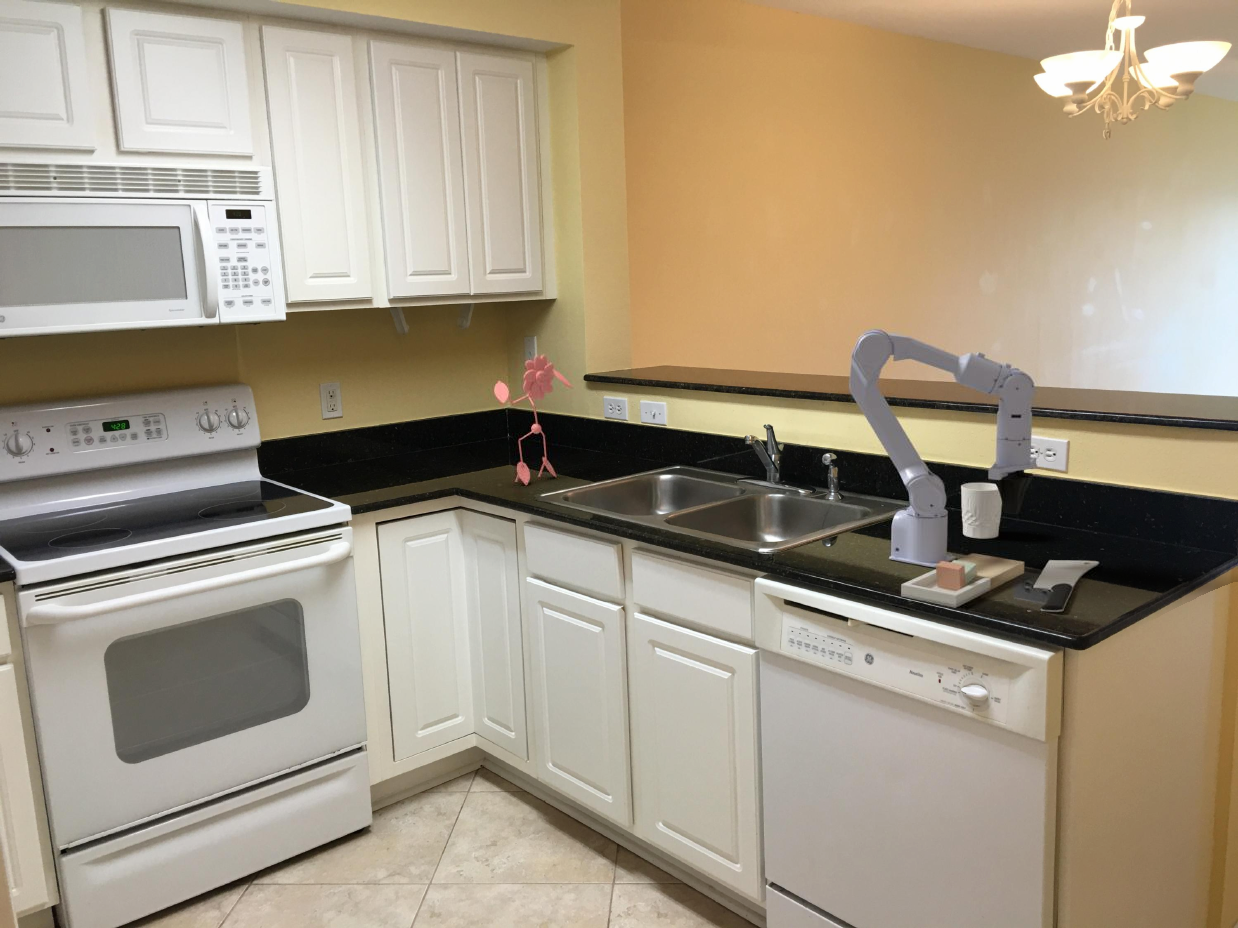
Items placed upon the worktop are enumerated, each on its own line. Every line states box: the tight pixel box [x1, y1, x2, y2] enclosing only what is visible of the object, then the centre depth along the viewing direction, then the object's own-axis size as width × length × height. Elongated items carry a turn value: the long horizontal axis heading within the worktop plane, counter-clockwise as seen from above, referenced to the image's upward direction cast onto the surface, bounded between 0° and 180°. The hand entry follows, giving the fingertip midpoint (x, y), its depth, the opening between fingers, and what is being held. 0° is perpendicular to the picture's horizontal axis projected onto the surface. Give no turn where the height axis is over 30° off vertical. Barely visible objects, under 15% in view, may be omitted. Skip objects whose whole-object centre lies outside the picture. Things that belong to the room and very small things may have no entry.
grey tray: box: [900, 568, 991, 609], centre depth 164 cm, size 10×12×2 cm
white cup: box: [960, 482, 1003, 540], centre depth 200 cm, size 8×8×10 cm
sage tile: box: [950, 559, 977, 584], centre depth 166 cm, size 4×4×2 cm
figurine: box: [493, 354, 574, 487], centre depth 269 cm, size 15×26×35 cm, turn 140°
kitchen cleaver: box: [1032, 559, 1100, 615], centre depth 166 cm, size 31×2×10 cm
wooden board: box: [956, 552, 1025, 591], centre depth 172 cm, size 10×13×2 cm
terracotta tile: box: [935, 561, 966, 591], centre depth 164 cm, size 4×4×2 cm
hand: (1011, 513), depth 178 cm, fingers closed
